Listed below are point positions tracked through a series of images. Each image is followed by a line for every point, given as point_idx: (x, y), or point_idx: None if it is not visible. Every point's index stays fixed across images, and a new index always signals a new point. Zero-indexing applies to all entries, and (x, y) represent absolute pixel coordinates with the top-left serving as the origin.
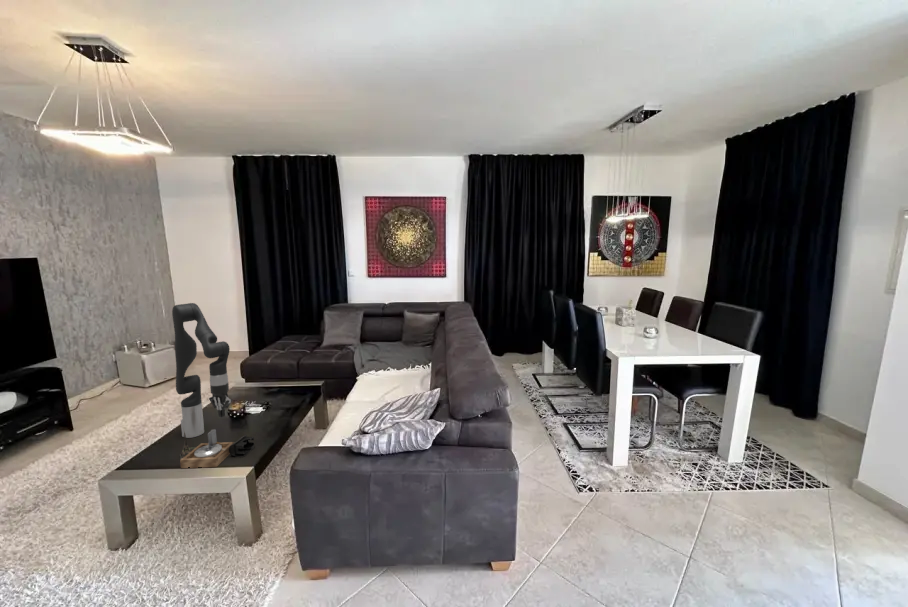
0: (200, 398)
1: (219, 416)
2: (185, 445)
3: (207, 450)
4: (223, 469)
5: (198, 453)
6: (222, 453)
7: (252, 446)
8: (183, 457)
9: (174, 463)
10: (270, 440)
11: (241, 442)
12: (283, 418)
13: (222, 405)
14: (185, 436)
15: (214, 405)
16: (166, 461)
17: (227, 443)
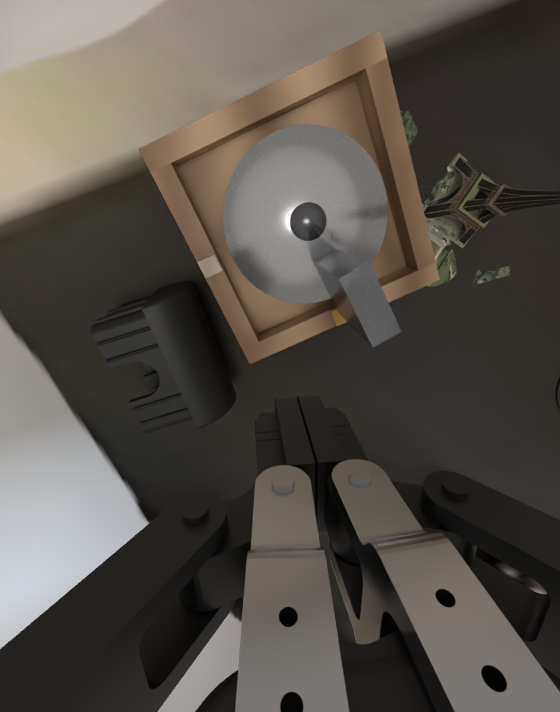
0: None
1: (302, 396)
2: (503, 194)
3: (297, 206)
4: (79, 148)
5: (323, 150)
6: (182, 232)
7: (151, 390)
8: (458, 175)
9: (453, 96)
10: (157, 474)
11: (135, 351)
12: None
13: (340, 586)
14: (557, 198)
15: (484, 518)
16: (522, 98)
17: (273, 337)
